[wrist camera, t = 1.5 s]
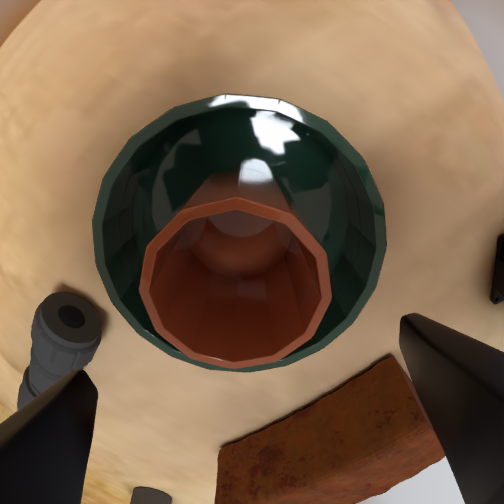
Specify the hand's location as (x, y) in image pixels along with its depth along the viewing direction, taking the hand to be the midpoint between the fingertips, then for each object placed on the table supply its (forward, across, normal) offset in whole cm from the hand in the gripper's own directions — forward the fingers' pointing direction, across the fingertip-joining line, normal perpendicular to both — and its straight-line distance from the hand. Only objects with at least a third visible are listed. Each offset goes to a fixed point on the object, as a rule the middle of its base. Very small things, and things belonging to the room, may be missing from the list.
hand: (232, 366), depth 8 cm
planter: (+12, 0, 0) cm, 12 cm away
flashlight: (+12, +18, +8) cm, 23 cm away
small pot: (+12, 0, 0) cm, 12 cm away
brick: (+12, -3, +21) cm, 25 cm away
